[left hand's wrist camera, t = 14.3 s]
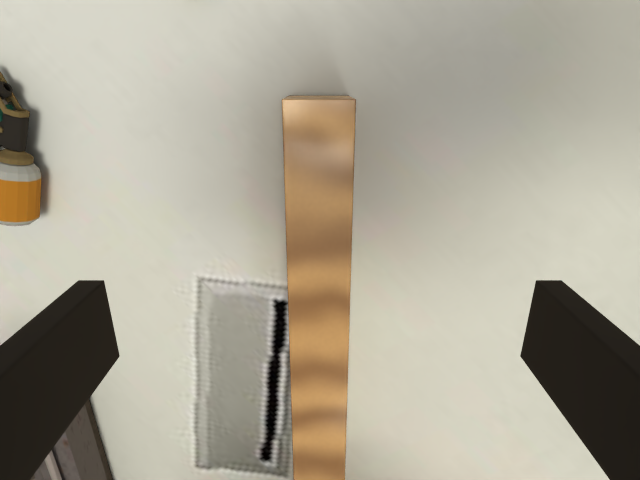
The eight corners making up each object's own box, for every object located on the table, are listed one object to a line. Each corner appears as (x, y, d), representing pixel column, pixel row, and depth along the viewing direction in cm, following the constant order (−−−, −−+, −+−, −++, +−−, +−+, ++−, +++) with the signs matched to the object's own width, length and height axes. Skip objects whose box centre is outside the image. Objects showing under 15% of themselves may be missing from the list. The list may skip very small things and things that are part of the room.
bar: (288, 95, 38) (281, 99, 31) (349, 95, 38) (355, 99, 31) (298, 484, 55) (295, 542, 48) (339, 483, 55) (342, 542, 48)
